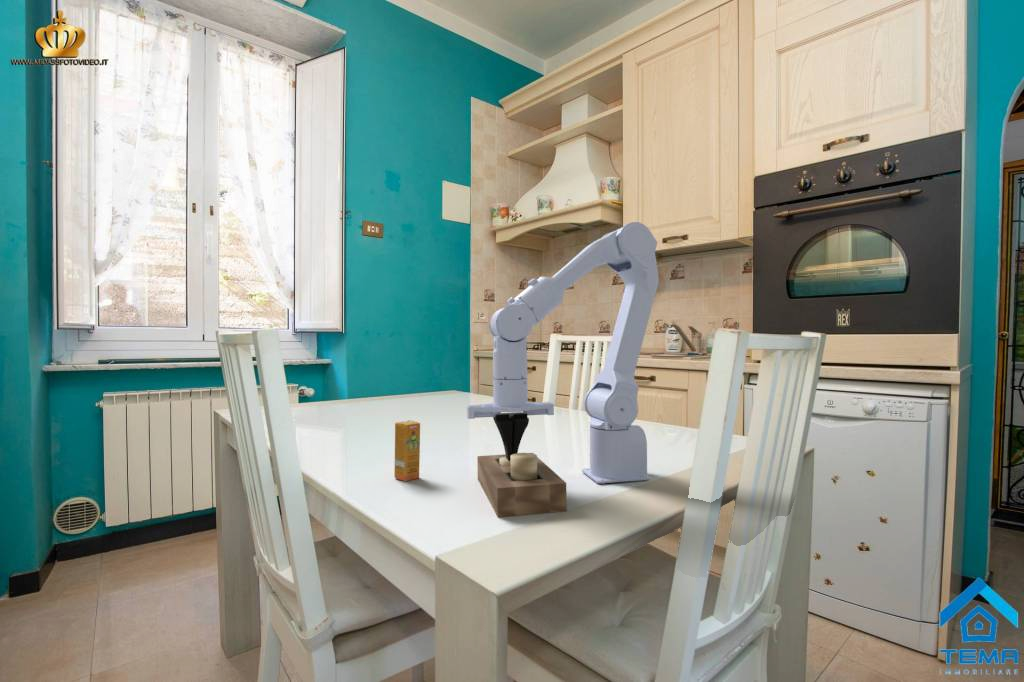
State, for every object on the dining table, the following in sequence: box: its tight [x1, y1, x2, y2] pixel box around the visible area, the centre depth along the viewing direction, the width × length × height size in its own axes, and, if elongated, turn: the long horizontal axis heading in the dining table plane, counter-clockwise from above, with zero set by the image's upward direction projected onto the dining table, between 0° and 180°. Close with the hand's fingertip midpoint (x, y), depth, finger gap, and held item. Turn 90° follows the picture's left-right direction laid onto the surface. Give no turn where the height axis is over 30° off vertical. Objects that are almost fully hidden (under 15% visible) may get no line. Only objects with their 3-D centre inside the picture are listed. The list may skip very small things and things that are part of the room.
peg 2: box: [510, 452, 538, 481], centre depth 75 cm, size 4×4×4 cm
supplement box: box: [394, 420, 421, 482], centre depth 89 cm, size 3×3×10 cm
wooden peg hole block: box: [477, 452, 568, 518], centre depth 80 cm, size 10×19×4 cm, turn 12°
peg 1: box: [499, 457, 511, 465], centre depth 84 cm, size 4×4×4 cm
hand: (511, 459), depth 84 cm, fingers closed, pressing on peg 1
